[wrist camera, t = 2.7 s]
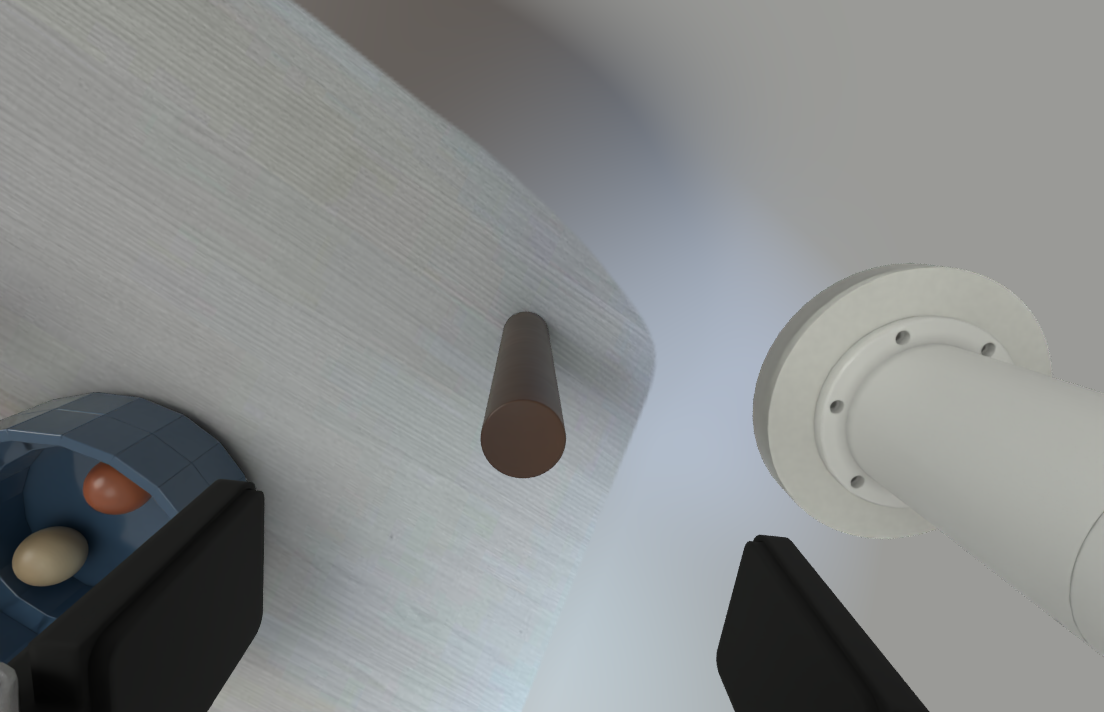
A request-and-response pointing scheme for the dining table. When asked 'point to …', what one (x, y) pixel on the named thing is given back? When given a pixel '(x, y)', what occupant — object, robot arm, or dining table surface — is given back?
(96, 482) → the bead
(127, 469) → the bowl
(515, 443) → the stick
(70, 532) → the bead
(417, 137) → the dining table surface
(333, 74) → the dining table surface
